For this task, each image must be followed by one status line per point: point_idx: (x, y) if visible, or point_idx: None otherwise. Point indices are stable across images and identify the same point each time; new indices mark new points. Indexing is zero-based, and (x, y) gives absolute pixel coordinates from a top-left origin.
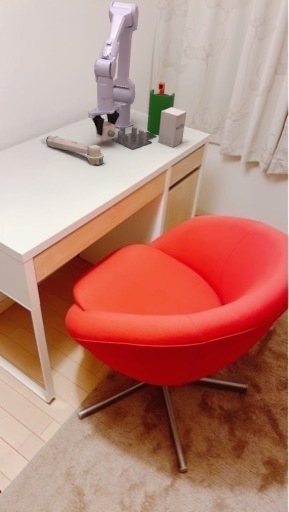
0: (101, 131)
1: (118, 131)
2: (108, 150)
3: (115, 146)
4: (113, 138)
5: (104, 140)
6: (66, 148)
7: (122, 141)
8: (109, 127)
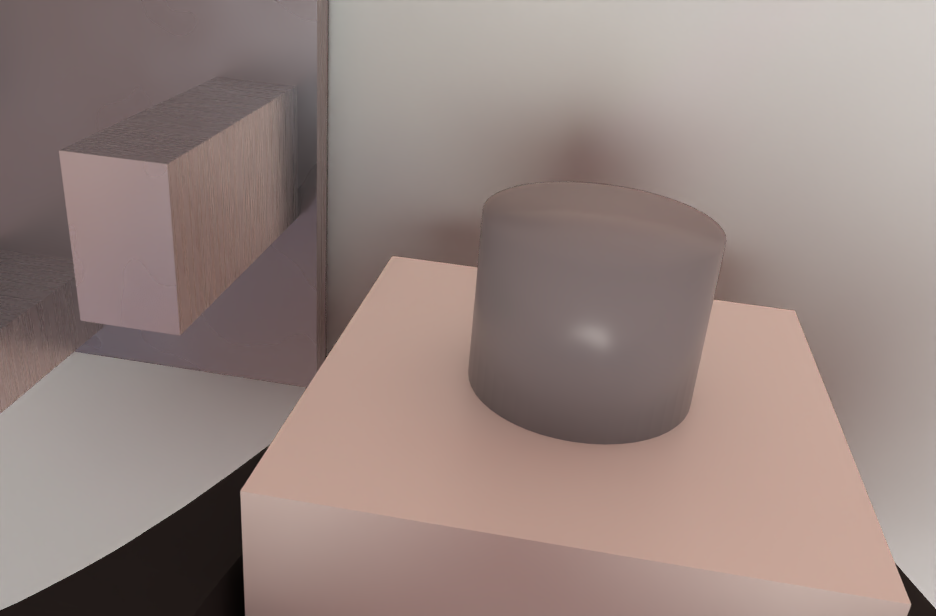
0: (903, 581)
1: (171, 294)
2: (884, 21)
3: (526, 69)
4: (271, 370)
5: (793, 322)
6: None
7: (226, 81)
8: (586, 513)
